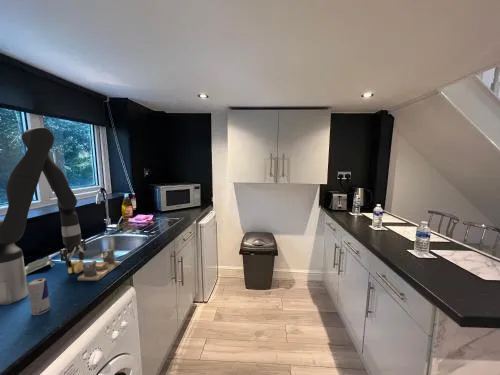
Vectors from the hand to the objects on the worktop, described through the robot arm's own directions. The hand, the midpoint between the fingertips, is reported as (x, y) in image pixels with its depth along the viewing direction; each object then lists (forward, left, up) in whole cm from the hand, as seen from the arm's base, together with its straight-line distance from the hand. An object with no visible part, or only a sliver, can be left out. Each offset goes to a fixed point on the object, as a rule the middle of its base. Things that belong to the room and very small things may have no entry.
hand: (75, 263), depth 123 cm
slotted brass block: (-1, 0, -4) cm, 4 cm away
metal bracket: (+1, +23, -5) cm, 23 cm away
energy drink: (-33, -12, -4) cm, 35 cm away
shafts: (-1, -13, +2) cm, 14 cm away
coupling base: (-1, -13, -4) cm, 14 cm away
